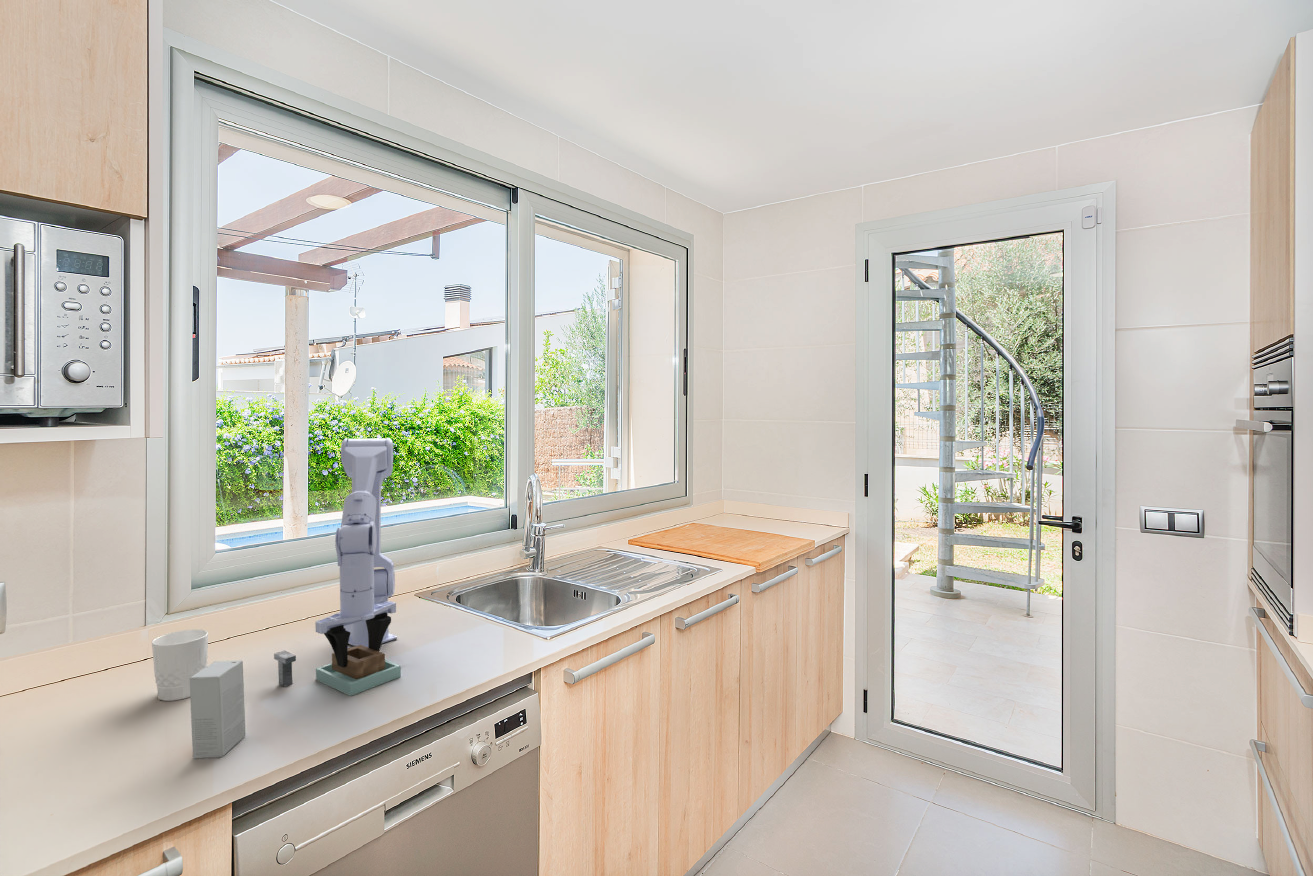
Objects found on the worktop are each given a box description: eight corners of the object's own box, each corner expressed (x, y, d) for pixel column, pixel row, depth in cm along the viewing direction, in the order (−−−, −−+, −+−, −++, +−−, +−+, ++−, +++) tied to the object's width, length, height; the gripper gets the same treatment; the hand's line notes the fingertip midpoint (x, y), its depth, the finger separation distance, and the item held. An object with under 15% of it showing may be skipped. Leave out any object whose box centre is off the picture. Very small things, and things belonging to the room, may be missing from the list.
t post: (274, 683, 114) (274, 653, 113) (285, 679, 115) (284, 650, 115) (285, 688, 111) (285, 658, 111) (296, 685, 113) (295, 655, 112)
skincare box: (216, 737, 95) (214, 660, 94) (246, 736, 95) (244, 659, 94) (190, 759, 89) (188, 677, 88) (222, 758, 89) (219, 676, 88)
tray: (316, 679, 115) (315, 668, 115) (365, 662, 123) (365, 652, 123) (350, 696, 108) (350, 684, 108) (400, 676, 116) (400, 665, 116)
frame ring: (356, 679, 111) (356, 663, 111) (331, 669, 116) (331, 653, 115) (384, 669, 116) (384, 653, 116) (360, 660, 120) (360, 644, 120)
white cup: (147, 706, 104) (146, 648, 104) (159, 688, 111) (158, 633, 111) (205, 697, 108) (203, 640, 108) (213, 679, 115) (211, 626, 115)
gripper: (329, 601, 107) (331, 679, 107) (405, 582, 119) (406, 652, 119) (308, 594, 111) (310, 669, 111) (383, 577, 123) (384, 644, 123)
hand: (358, 660), depth 116 cm, fingers closed on frame ring, 5 cm apart
